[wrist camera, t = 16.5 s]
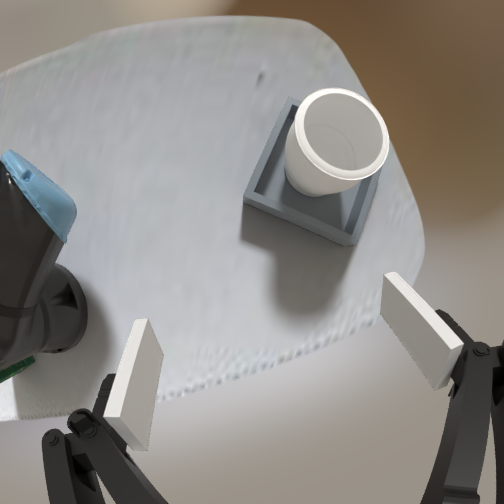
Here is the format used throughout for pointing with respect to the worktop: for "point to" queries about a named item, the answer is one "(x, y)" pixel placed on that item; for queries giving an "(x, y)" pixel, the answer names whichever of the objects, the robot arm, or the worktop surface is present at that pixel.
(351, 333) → the worktop surface
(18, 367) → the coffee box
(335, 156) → the white tapered cylinder
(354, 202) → the bin
